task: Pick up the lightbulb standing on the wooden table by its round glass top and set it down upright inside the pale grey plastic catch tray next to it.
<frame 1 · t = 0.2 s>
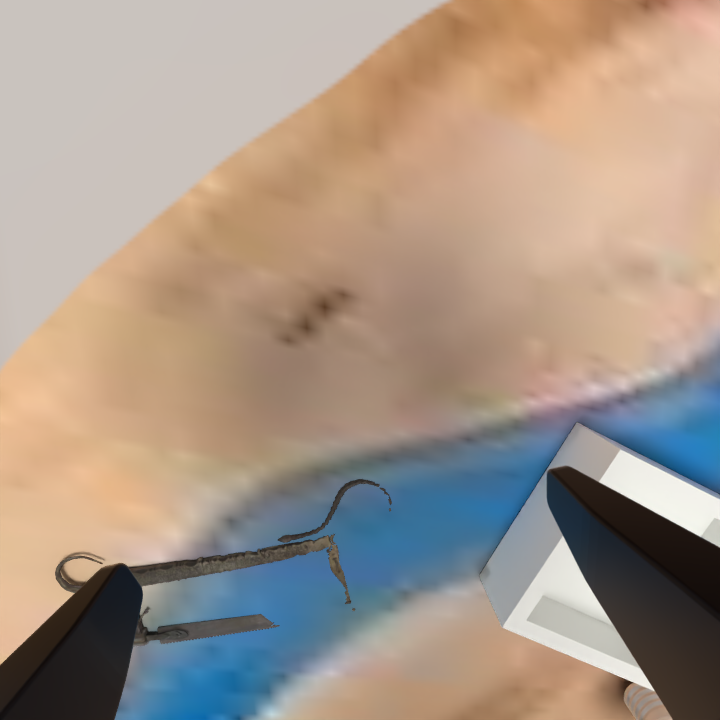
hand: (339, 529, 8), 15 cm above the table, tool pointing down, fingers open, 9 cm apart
lightbulb: (633, 682, 29), on the table
tray: (602, 537, 26), on the table
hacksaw: (214, 562, 27), on the table
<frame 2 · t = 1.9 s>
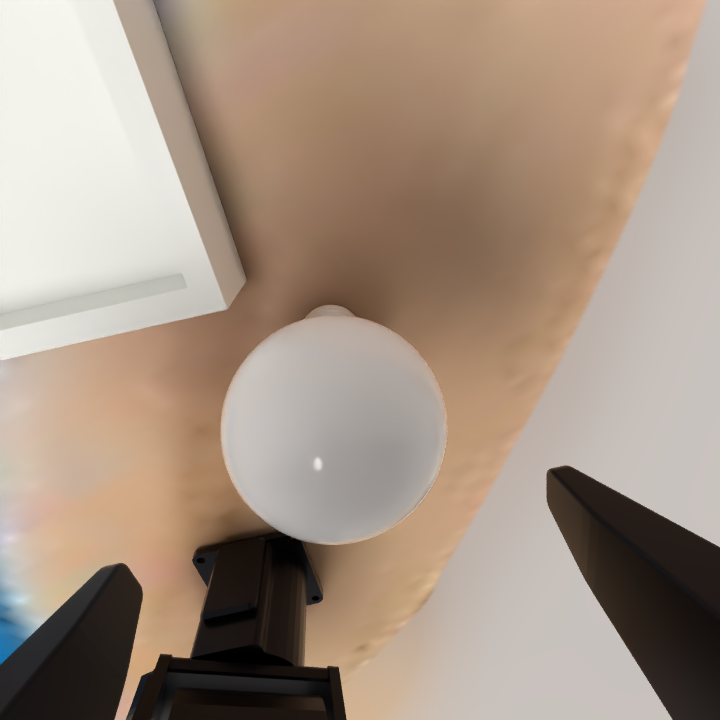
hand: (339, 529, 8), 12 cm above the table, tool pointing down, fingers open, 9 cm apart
lightbulb: (330, 326, 19), on the table
tray: (36, 159, 15), on the table
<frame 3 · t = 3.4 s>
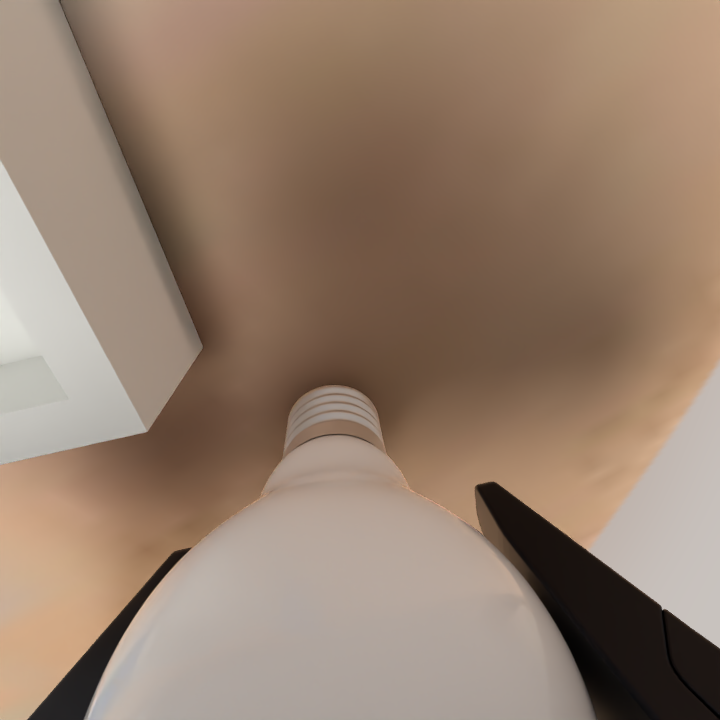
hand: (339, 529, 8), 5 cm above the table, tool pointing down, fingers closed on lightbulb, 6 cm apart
lightbulb: (333, 408, 13), on the table, touching gripper
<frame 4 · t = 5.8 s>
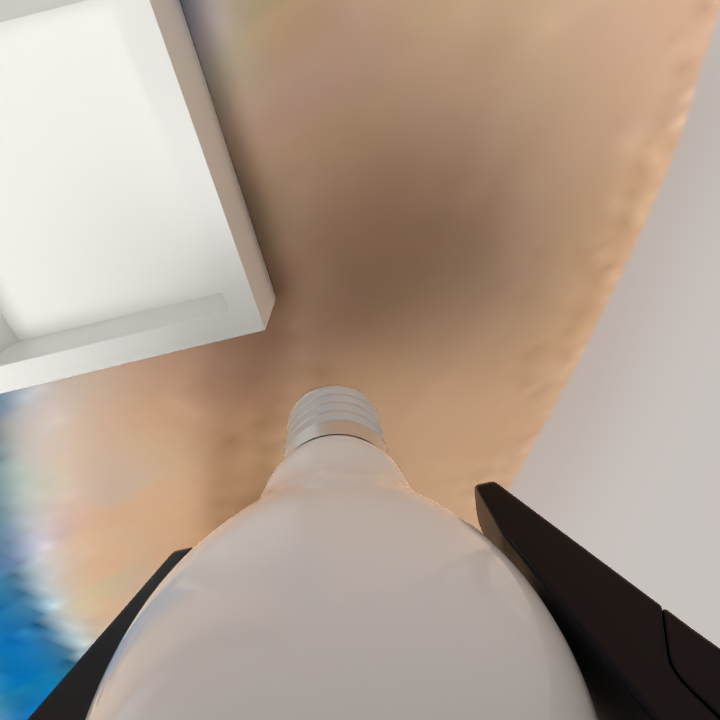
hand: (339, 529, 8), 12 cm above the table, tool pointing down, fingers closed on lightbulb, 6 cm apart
lightbulb: (333, 408, 13), point 7 cm above the table, touching gripper
tray: (81, 190, 16), on the table
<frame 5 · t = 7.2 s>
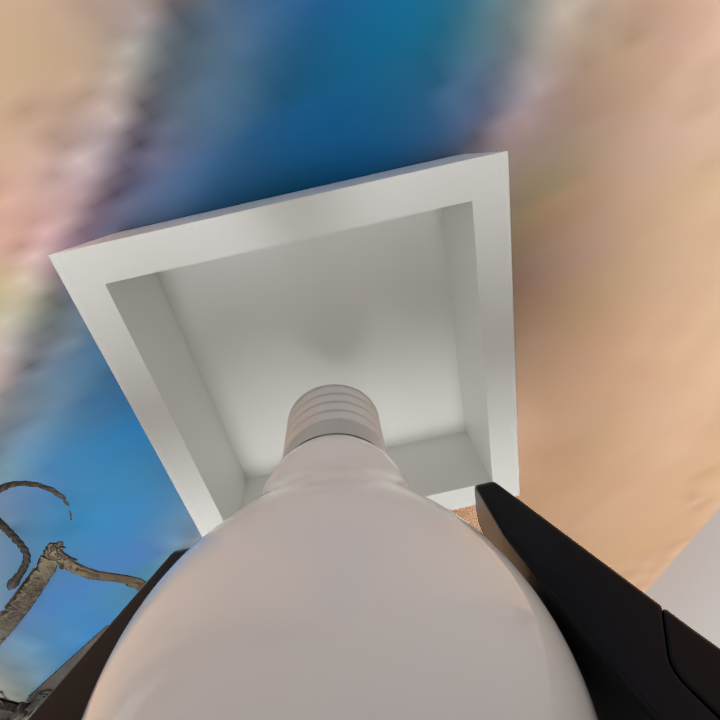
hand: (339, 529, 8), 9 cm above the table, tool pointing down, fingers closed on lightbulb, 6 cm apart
lightbulb: (333, 408, 13), point 4 cm above the table, touching gripper
tray: (328, 348, 16), on the table
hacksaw: (5, 630, 23), on the table
when the fingers open (7 cm above the table, at t = 8.5 s): lightbulb drops 2 cm, resting on tray.
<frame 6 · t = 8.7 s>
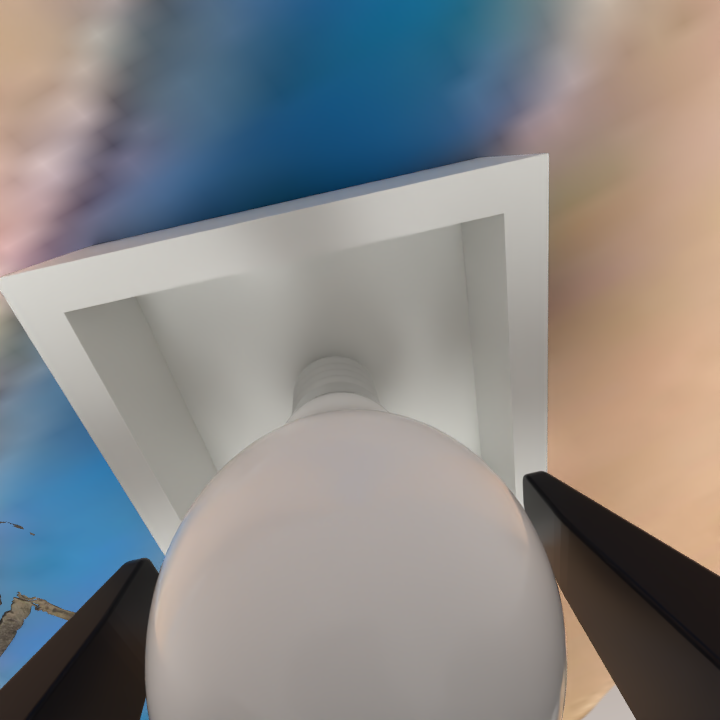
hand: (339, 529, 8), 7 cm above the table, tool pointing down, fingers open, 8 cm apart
lightbulb: (333, 381, 14), point 1 cm above the table, touching tray
tray: (330, 374, 15), on the table
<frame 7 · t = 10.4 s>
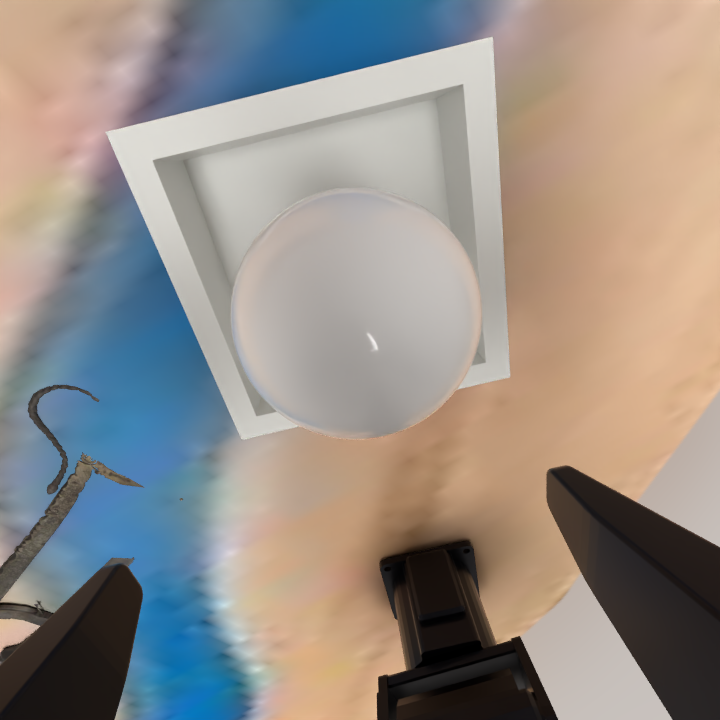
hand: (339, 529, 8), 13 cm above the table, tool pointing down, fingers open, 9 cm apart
lightbulb: (341, 255, 18), point 1 cm above the table, touching tray
tray: (338, 253, 18), on the table
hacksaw: (43, 539, 25), on the table
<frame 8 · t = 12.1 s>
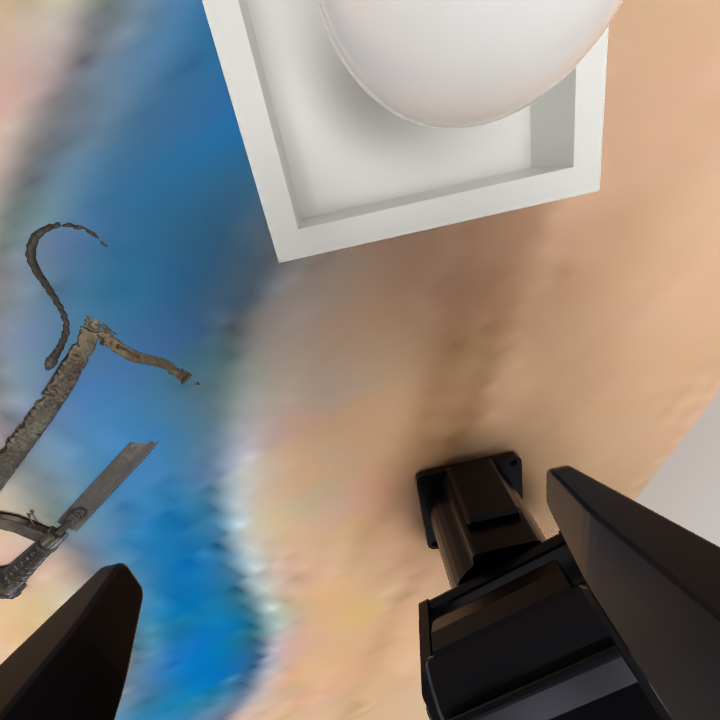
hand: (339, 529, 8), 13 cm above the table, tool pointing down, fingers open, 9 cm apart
lightbulb: (398, 50, 15), point 1 cm above the table, touching tray
tray: (394, 56, 16), on the table
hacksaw: (38, 434, 22), on the table
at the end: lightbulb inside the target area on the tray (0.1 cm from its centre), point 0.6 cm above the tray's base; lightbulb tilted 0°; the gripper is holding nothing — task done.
